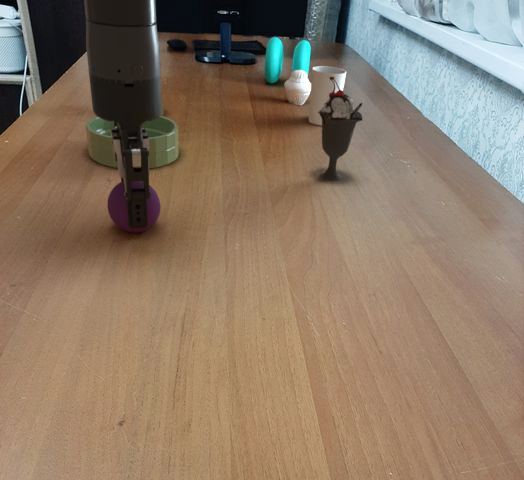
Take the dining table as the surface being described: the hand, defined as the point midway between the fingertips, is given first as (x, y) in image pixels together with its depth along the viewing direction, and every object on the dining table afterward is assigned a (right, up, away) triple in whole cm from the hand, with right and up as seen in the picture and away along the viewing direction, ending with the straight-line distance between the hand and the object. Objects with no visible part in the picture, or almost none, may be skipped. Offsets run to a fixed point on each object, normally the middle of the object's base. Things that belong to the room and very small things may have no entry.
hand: (134, 214), depth 71 cm
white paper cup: (+28, +29, +45) cm, 60 cm away
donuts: (+22, +48, +69) cm, 87 cm away
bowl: (-5, +15, +22) cm, 27 cm away
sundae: (+27, +10, +21) cm, 35 cm away
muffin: (+23, +38, +56) cm, 71 cm away
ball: (0, +1, -1) cm, 1 cm away
